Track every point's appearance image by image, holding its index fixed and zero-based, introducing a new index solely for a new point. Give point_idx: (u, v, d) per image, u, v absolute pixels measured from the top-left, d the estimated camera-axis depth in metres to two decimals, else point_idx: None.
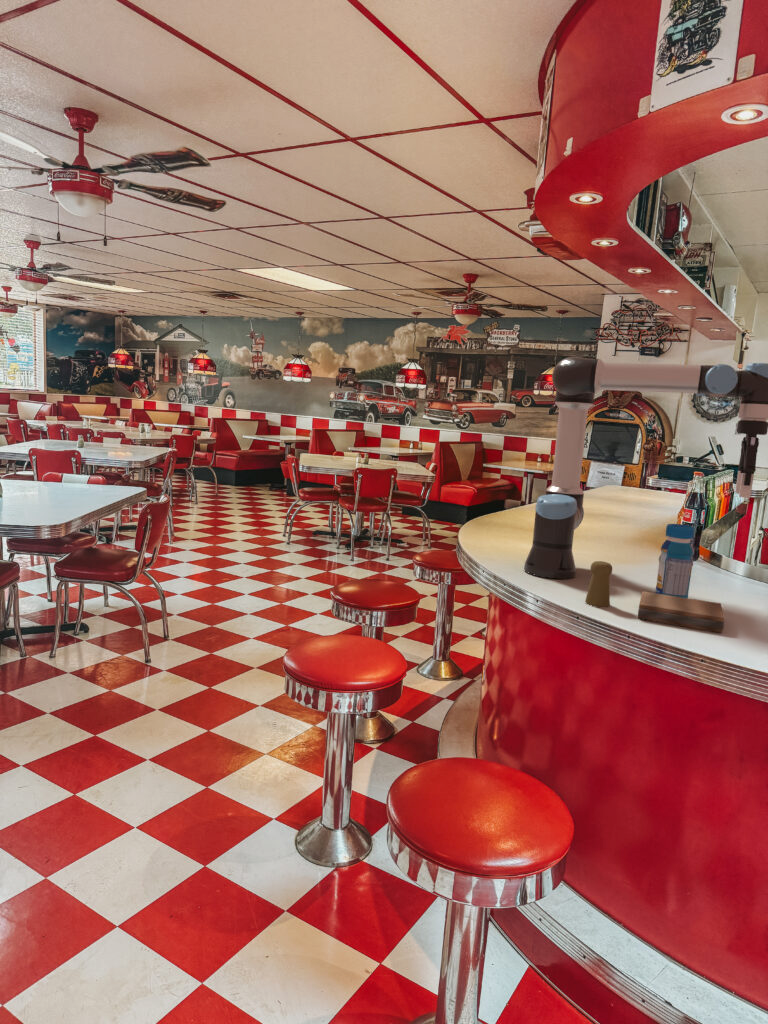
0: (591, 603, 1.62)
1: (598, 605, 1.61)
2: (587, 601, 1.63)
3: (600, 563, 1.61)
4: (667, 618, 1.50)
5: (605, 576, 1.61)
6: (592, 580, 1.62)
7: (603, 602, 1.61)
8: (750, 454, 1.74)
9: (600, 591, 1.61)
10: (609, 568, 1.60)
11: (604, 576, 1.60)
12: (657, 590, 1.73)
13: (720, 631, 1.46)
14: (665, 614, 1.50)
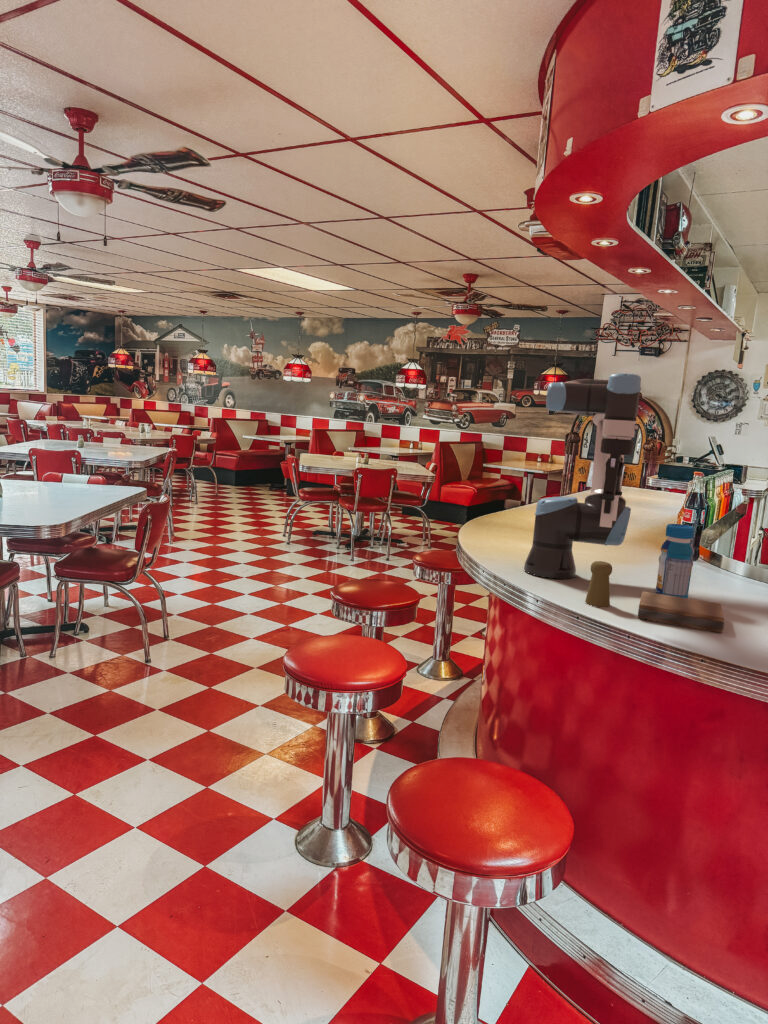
0: (591, 603, 1.62)
1: (598, 605, 1.61)
2: (587, 601, 1.63)
3: (600, 563, 1.61)
4: (667, 618, 1.50)
5: (605, 576, 1.61)
6: (592, 580, 1.62)
7: (603, 602, 1.61)
8: (609, 478, 1.52)
9: (600, 591, 1.61)
10: (609, 568, 1.60)
11: (604, 576, 1.60)
12: (657, 590, 1.73)
13: (720, 631, 1.46)
14: (665, 614, 1.50)
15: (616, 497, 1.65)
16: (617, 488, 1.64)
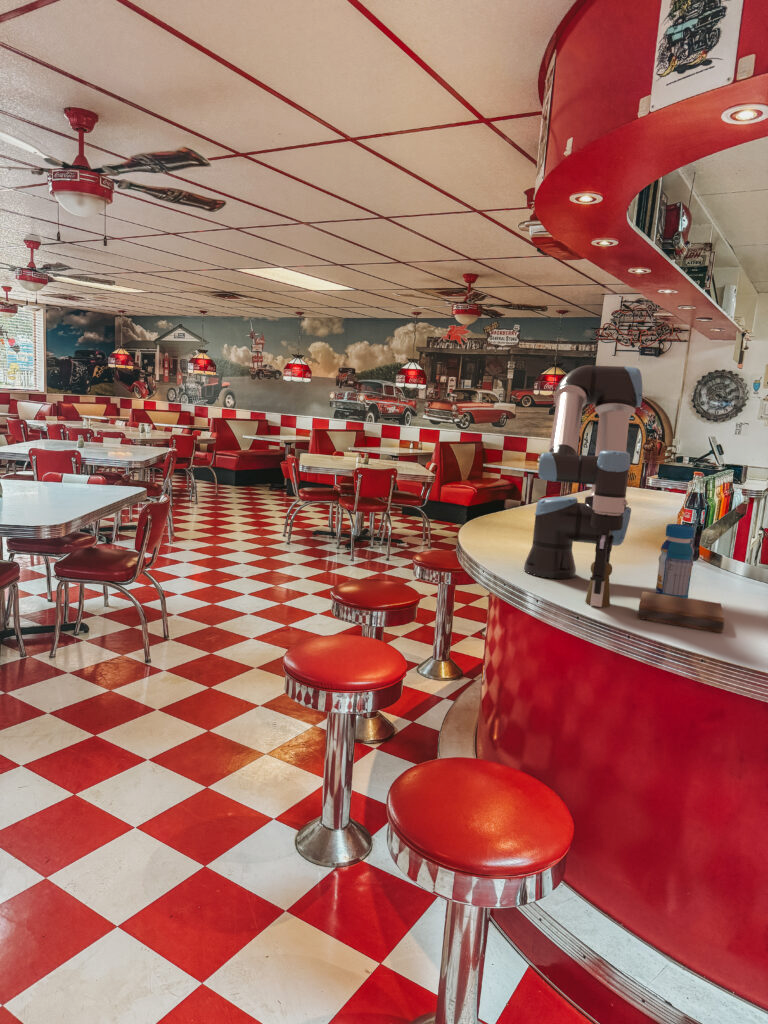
0: None
1: None
2: (587, 601, 1.63)
3: None
4: (667, 618, 1.50)
5: (605, 576, 1.61)
6: (592, 580, 1.62)
7: (603, 602, 1.61)
8: (598, 560, 1.56)
9: None
10: (609, 568, 1.60)
11: (604, 576, 1.60)
12: (657, 590, 1.73)
13: (720, 631, 1.46)
14: (665, 614, 1.50)
15: None
16: None
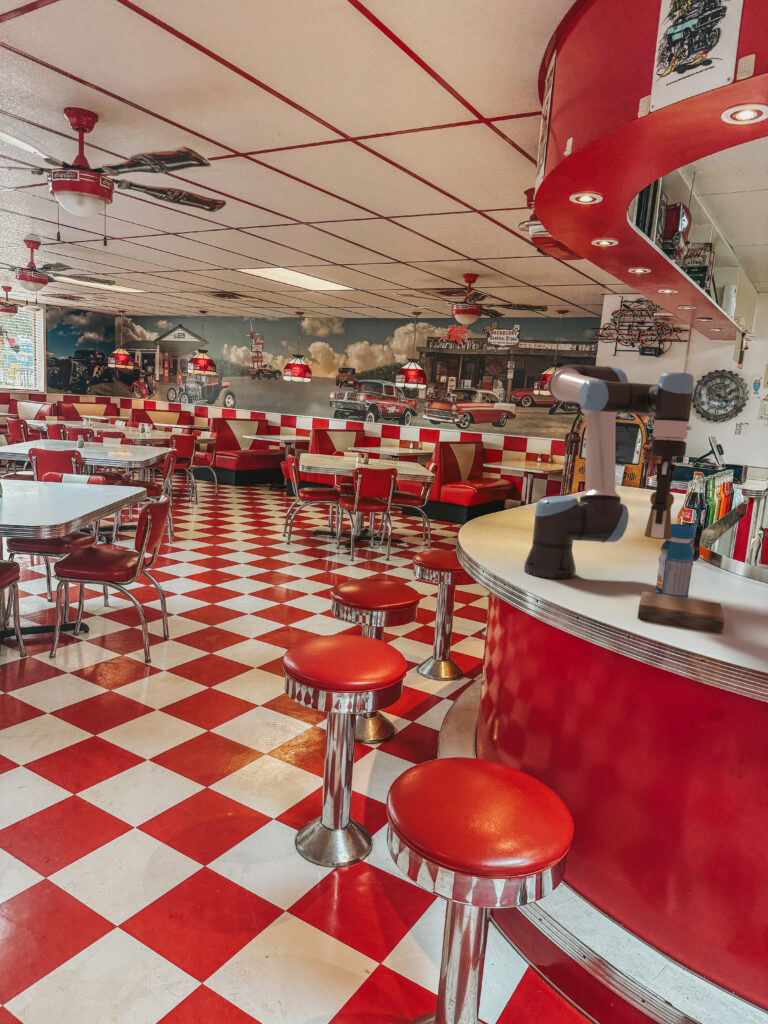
0: None
1: None
2: (647, 533, 1.55)
3: None
4: (667, 618, 1.50)
5: (667, 506, 1.52)
6: (652, 511, 1.54)
7: (665, 534, 1.52)
8: (661, 487, 1.48)
9: None
10: (671, 497, 1.52)
11: None
12: (657, 590, 1.73)
13: (720, 631, 1.46)
14: (665, 614, 1.50)
15: None
16: None
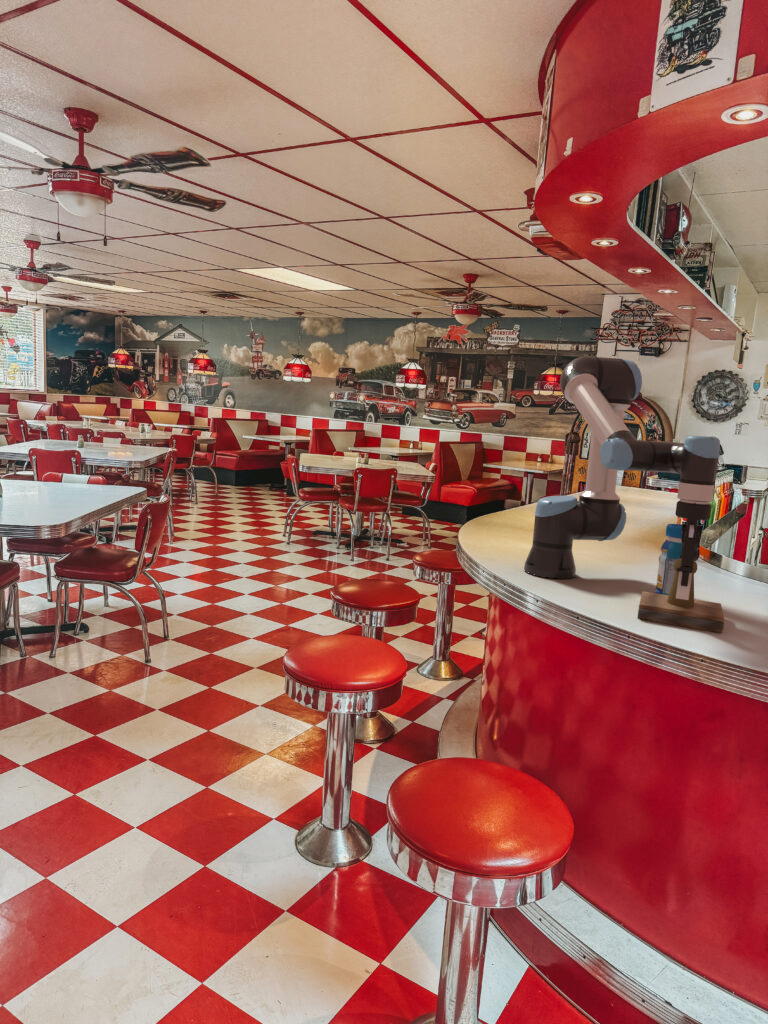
0: (675, 603, 1.54)
1: (683, 605, 1.53)
2: (670, 600, 1.55)
3: None
4: (667, 618, 1.50)
5: None
6: (676, 578, 1.54)
7: (689, 602, 1.53)
8: (687, 550, 1.47)
9: None
10: (695, 565, 1.52)
11: None
12: (657, 590, 1.73)
13: (720, 631, 1.46)
14: (665, 614, 1.50)
15: None
16: None
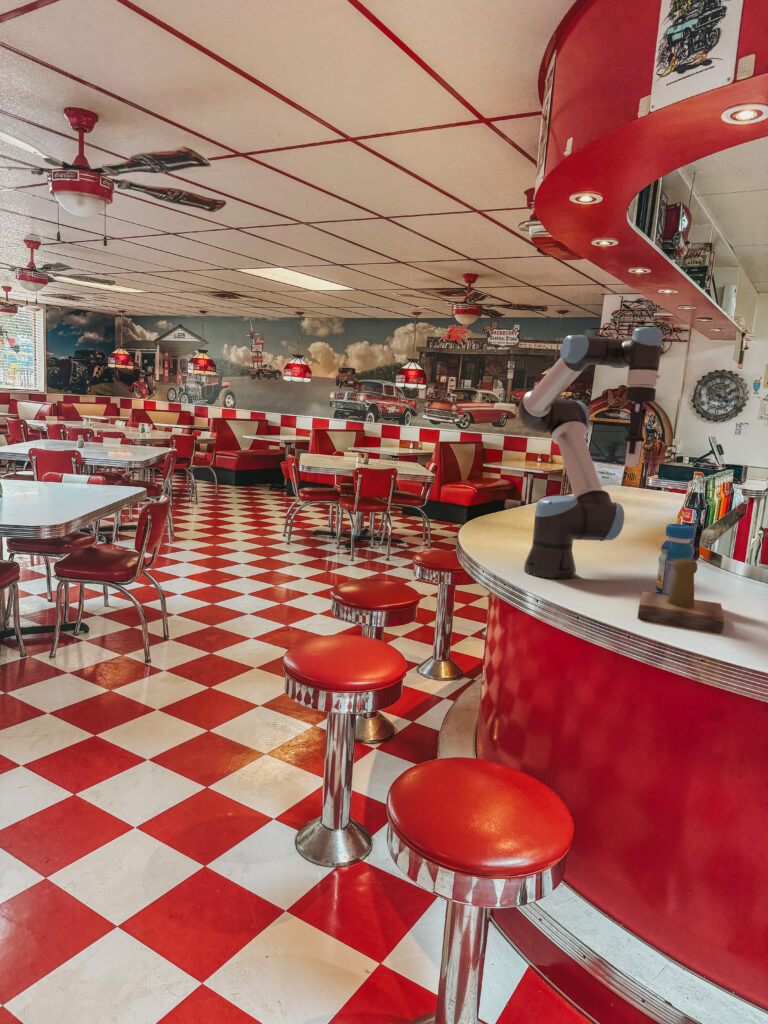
0: (675, 603, 1.54)
1: (683, 605, 1.53)
2: (670, 600, 1.55)
3: (685, 560, 1.53)
4: (667, 618, 1.50)
5: (691, 574, 1.52)
6: (676, 578, 1.54)
7: (689, 602, 1.53)
8: (634, 421, 1.68)
9: (685, 590, 1.53)
10: (695, 565, 1.52)
11: (690, 574, 1.52)
12: (657, 590, 1.73)
13: (720, 631, 1.46)
14: (665, 614, 1.50)
15: (639, 443, 1.82)
16: (640, 434, 1.81)
